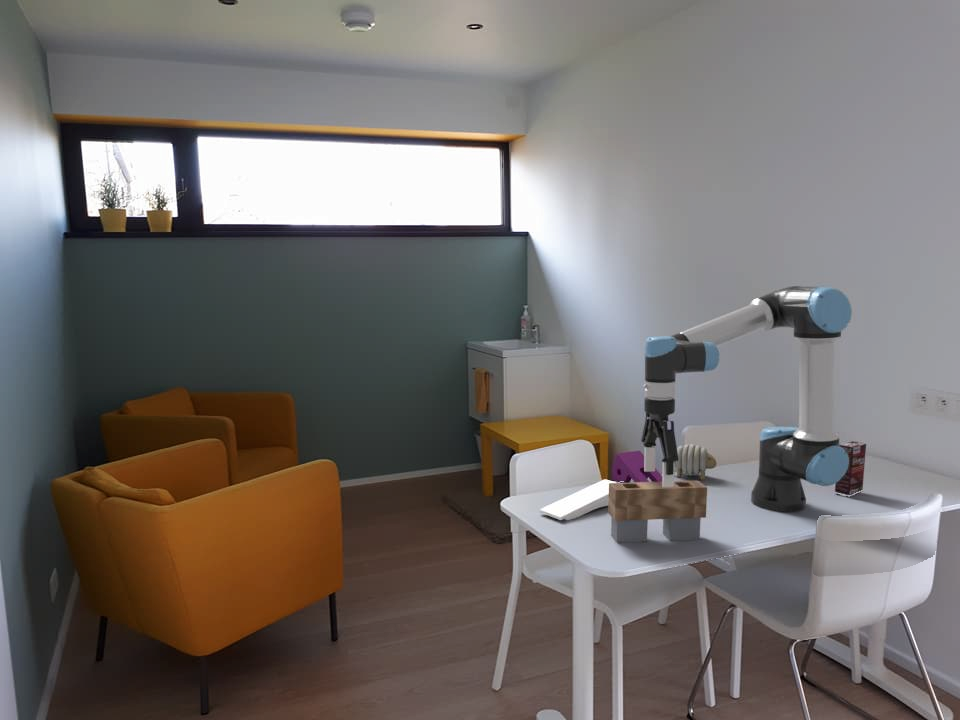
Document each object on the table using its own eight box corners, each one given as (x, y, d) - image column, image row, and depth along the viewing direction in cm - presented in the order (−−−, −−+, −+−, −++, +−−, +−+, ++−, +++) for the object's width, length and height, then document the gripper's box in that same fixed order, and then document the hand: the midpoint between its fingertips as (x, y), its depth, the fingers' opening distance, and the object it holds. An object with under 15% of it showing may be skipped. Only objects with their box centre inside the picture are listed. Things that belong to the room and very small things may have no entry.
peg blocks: (691, 532, 191) (693, 496, 190) (699, 539, 186) (701, 502, 185) (611, 535, 189) (612, 498, 187) (616, 542, 184) (617, 504, 182)
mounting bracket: (663, 506, 230) (632, 470, 244) (671, 486, 226) (639, 450, 239) (639, 510, 226) (609, 473, 240) (647, 490, 222) (616, 453, 235)
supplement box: (849, 498, 220) (853, 447, 218) (834, 494, 224) (837, 444, 222) (863, 493, 225) (867, 443, 223) (848, 489, 229) (851, 440, 227)
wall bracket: (562, 542, 200) (626, 508, 217) (564, 520, 197) (630, 487, 214) (536, 524, 206) (601, 492, 224) (539, 502, 204) (604, 472, 221)
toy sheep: (715, 483, 235) (716, 450, 233) (662, 478, 240) (663, 445, 239) (716, 474, 245) (717, 443, 243) (665, 470, 250) (666, 438, 249)
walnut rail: (696, 509, 191) (697, 480, 190) (705, 517, 185) (707, 487, 184) (608, 512, 188) (608, 483, 187) (614, 520, 182) (615, 490, 181)
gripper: (630, 389, 195) (629, 465, 197) (662, 407, 170) (661, 494, 173) (657, 388, 195) (655, 464, 198) (693, 406, 171) (691, 492, 173)
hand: (658, 478), depth 185 cm, fingers open, 13 cm apart
